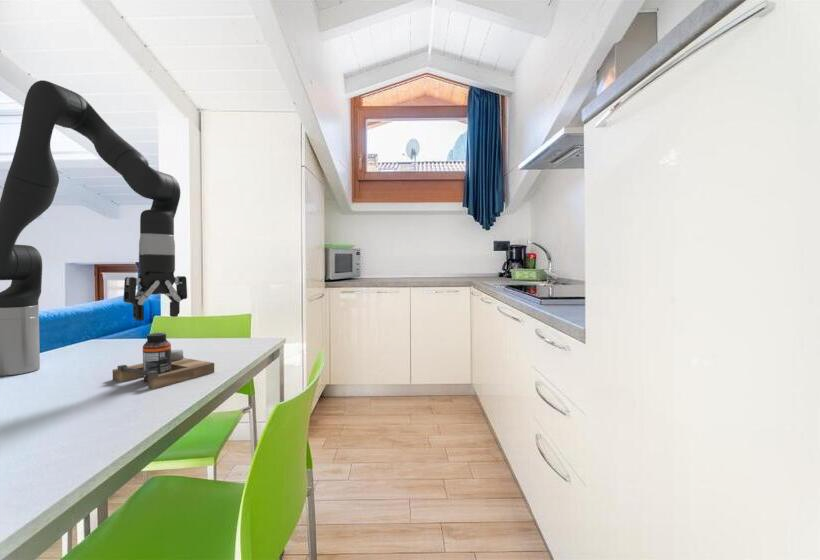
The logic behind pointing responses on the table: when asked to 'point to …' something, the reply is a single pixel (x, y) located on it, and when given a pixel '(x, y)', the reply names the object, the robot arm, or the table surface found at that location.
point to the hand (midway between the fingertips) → (157, 318)
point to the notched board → (180, 372)
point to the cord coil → (176, 355)
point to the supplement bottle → (156, 354)
